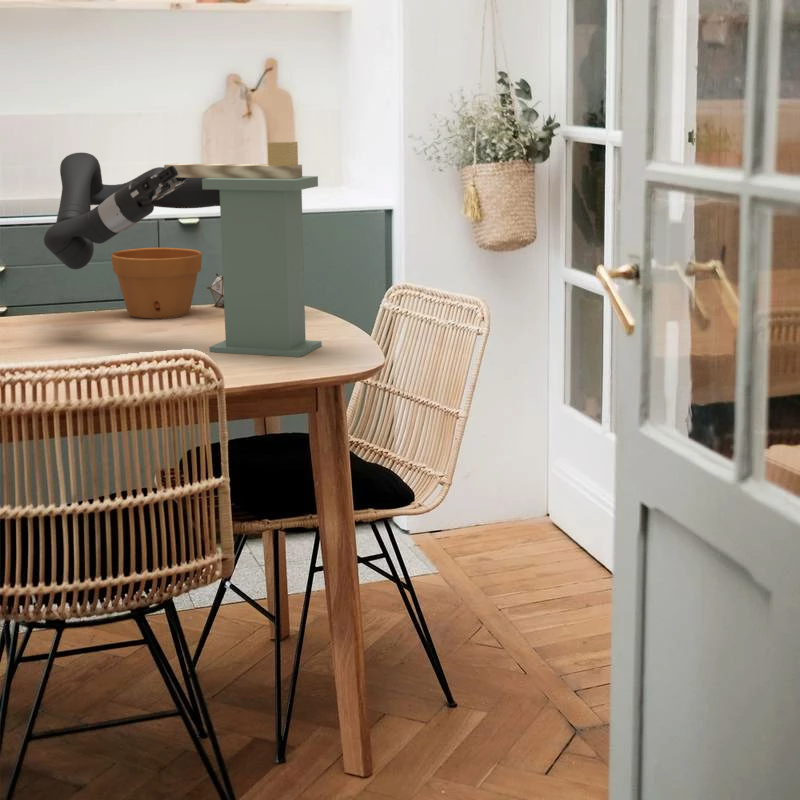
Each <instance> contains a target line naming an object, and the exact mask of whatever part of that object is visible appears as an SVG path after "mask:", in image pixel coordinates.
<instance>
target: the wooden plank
mask: <svg viewBox="0 0 800 800" xmlns="http://www.w3.org/2000/svg"><path fill="white" fill-rule="evenodd" d="M170 166H174V167H175V169H176V171H177V172H178V175H177V176H176V177H178V178H254V179H296V178H301V177H302V176H303V164H298V165H293V166H268V163H267V164H266V163H259V164H257V163H255V164H253V163H252V164H251V163H179V162H178V163H169V164H168V163H167V164H164V165H163V167H164V170H165V169H167V168H168V167H170Z"/></svg>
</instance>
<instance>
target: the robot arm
mask: <svg viewBox="0 0 800 800" xmlns="http://www.w3.org/2000/svg"><path fill="white" fill-rule="evenodd" d="M59 172H60V173H59V174H60V181H61V187H62V188H61V195H60V202H59V208H58V212H57V217H56V221H55V224H53V225H51V226H50V227H49V228H48V229H47V230H46V232H45V234H44V237H43V243H44V245H45V247H46V248H47V250H48V251H49V252H51V254H53V256H55V257H56V258H57V259H58V260H60V261H61V263H62V264H63V265H64V266H65V267H68V268H69V269H72V270H79V269H82V268H84V267H86V266H88V264H89V263H90V262H91V260H92V258H93V255H94V243H95V244H98V245H100V244H104V243H106V242H107V241H109V240H110V239H112V238H113V237H115V236H116V235H118V234H120V233H121V232H123V231H125V230H127V229H129V228H131V227H132V226H134V225H135V224H138V222H140V221H141V220H143V219H144V218H147V216H149V215H151V214H152V213H153V212H154V209H155V207H157V208H165V209H166V208H167V209H169V208H170V209H201V208H209V207H210V208H211V207H220V190H217V189H202V179H206V178H178V177H176V176H177V175H178V172H177V171H176V169H175V167H174V166H170V167H168V168H167V169H165V170H164V166H161V167H160V166H159V167H154V168H151V169H149V170H147V171H145V172H143V173H141V174H140V175H138V176H137V177H135V178H132V179H131V180H129V181H126V182H124V183H119V184H105V183H103V178H102V170H101V165H100V162H99V160H98V158H97V157H96V156H95V155H93V154H91V153H88V152H74V153H70V154H68V155H66V156H65V157H64V158H63V159H62V160H61V162H60V167H59ZM91 206H95V207H94V208H92V207H91ZM91 208H92V209H91Z"/></svg>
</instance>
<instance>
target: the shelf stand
mask: <svg viewBox="0 0 800 800" xmlns="http://www.w3.org/2000/svg"><path fill="white" fill-rule="evenodd" d="M318 186H319V176H318V175H315V176H314V175H313V176H312V175H302V177H301V178H296V179H254V178H206V179H202V189H217V190H220V206H219V209H220V211H219V212H220V213H219V214H220V233H221V260H222V276H223V287H224V304H223V306H224V307H223V308H224V312H223V313H224V328H225V329H224V330H225V331H224V333H225V336H224V337H225V339H224V340H223V341H221V342H217V343H216V344H214V345H211V346H208V347H209V352H210V353H222V354H223V353H224V354H225V353H226V354H240V355H255V356H256V355H259V356H276V357H277V356H279V357H295V358H301V357H303V356H306V355H307V354H309V353H310V352H313V351H314V350H317V349H318V348H321V347H322V344H323V343H322V340H312V339H311V340H310V339H306V310H305V308H306V307H305V303H306V302H305V301H306V300H305V272H304V271H305V268H304V265H305V264H304V235H303V234H304V233H303V232H304V231H303V229H304V228H303V226H304V225H303V198H302V197H303V196H302V195H303V192H302V191H303V190H306V189H311V188H315V187H318Z"/></svg>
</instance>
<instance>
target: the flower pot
mask: <svg viewBox="0 0 800 800" xmlns="http://www.w3.org/2000/svg"><path fill="white" fill-rule="evenodd" d="M202 253H203V252H201V251H200V250H197V249H191V248H179V247H178V248H177V247H142V248H133V249H131V248H130V249H124V250H118V251H117V250H116V251H114V252H112V253H111V255H110V256H111V265H112V271H113V273H114V274H115V275H116V276H117V279H118V283H119V286H120V290H121V293H122V297H123V300H124V305H125V307H126V310H127V313H128V315H129V316H130V317H133V318H138V317H139V318H140V319H150V318H157V319H170V318H171V319H172V317H173V318H179V316H180V317H184V316H186V314H187V315H188V314H190V311H191V306H192V302H193V297H194V292H195V287H196V284H197V278H198V273H199V272H201V270H202V262H203V261H202V259H203V258H202V257H203V254H202ZM183 315H184V316H183Z"/></svg>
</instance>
